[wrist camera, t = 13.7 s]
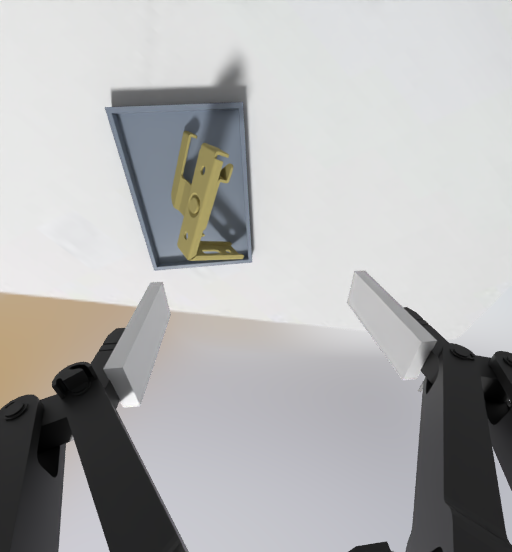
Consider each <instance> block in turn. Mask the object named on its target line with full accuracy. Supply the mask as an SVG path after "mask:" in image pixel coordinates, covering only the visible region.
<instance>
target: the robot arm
mask: <svg viewBox="0 0 512 552" xmlns="http://www.w3.org/2000/svg"><path fill="white" fill-rule="evenodd" d="M347 303H348V305H349V306H350V308H351V309H352V310H353V312H354V313H355V315H356V316H357V317H358V319H359V320H360V322H361V323H362V324H363V326H364V327H365V329H366V330H367V331H368V333H369V334H370V335H371V337H372V338H373V340H374V341H375V342H376V344H377V345H378V346H379V348H380V349H381V351H382V352H383V353H384V355H385V356H386V358H387V359H388V360H389V362H390V363H391V365H392V366H393V367H394V369H395V370H396V372H397V373H398V374H399V376H400V377H401V379H402V380H409V379H417V377H418V375H419V373H420V371H421V372H422V373H423V374H424V375H425V376H426V378H425V380H424V381H423V383H422V385H421V386H420V388H419V390H418V391H420V392H421V391H422V389H423V394H422V408H421V421H420V434H419V447H418V461H417V473H416V486H415V500H414V512H413V525H412V531H411V535H410V537H409V540H408V543H407V547H406V552H512V545H511V544H510V543H509V541H508V539H507V535H506V531H505V524H504V518H503V512H502V506H501V499H500V494H499V487H498V481H497V475H496V469H495V462H494V456H493V450H492V447H493V449H494V451H495V453H496V456H497V458H498V460H499V463H500V465H501V467H502V470H503V472H504V474H505V476H506V479H507V481H508V483H509V486H510V488H511V490H512V353H509V352H503V351H498V352H496V353H495V354H494V355H493V357H492V358H488V357H482V356H476V355H474V354H473V353H472V352H471V351H470V350H468V349H467V348H465V347H463V346H460V345H457V344H453V343H449V342H447V341H446V340H445V339H444V338H443V337H442V336H441V335H440V334H439V333H438V332H437V331H436V330H435V329H433V328H432V327H431V326H430V325H428V323H427V322H426V321H425V320H423V318H422V317H421V316H419V315H418V314H417V313H416V312H414V311H413V310H411V309H409V308H407V307H404V308H403V307H402V306H401V305H400V304H399V303H398V302H397V301H396V300H395V299H394V298H393V297H392V296H391V295H390V294H389V293H387V292H386V291H385V290H384V289H383V288H382V287H381V286H380V285H379V284H378V283H377V282H376V281H375V280H374V279H373V278H372V277H371V276H370V275H369V274H368V273H367V272H366V271H354V275H353V279H352V284H351V288H350V292H349V296H348V300H347ZM170 315H171V314H170V310H169V306H168V302H167V298H166V294H165V290H164V286H163V282H155V283H150V285H149V286H148V288H147V290H146V292H145V294H144V296H143V297H142V299H141V301H140V303H139V305H138V306H137V308H136V310H135V312H134V314H133V316H132V317H131V319H130V321H129V323H128V325H127V327H126V328H118V329H115V330H114V331H113V332H112V333H111V334H110V335H108V337H107V338H106V340H105V341H104V343H103V345H102V346H101V348H100V349H99V352H98V353H97V354H96V356H95V358H94V359H93V361H92V362H91V364H89V363H87V362H79V363H75V364H72V365H70V366H68V367H66V368H64V369H63V370H61V371H60V372H59V373H58V374H57V375H56V376H55V378H54V380H53V381H52V387H53V389H54V390H55V391H56V393H57V394H56V395H54V396H51V397H48V398H45V399H42V400H39V399H38V397H36V396H34V395H24V396H21V397H18V398H16V399H15V400H12V401H10V402H9V403H8V404H7V405H5V406H4V407H3V408H1V410H0V552H58V548H59V534H60V519H61V506H62V492H63V477H64V463H65V448H66V443H68V442H70V441H72V440H74V441H75V444H76V447H77V450H78V453H79V456H80V459H81V462H82V466H83V469H84V472H85V475H86V478H87V481H88V485H89V488H90V491H91V494H92V497H93V500H94V503H95V507H96V510H97V513H98V516H99V519H100V522H101V525H102V529H103V532H104V535H105V538H106V541H107V544H108V547H109V550H110V552H188V550H187V548H186V546H185V544H184V542H183V540H182V538H181V536H180V534H179V532H178V530H177V528H176V526H175V524H174V522H173V520H172V518H171V516H170V514H169V512H168V510H167V508H166V506H165V505H164V503H163V501H162V499H161V497H160V495H159V493H158V491H157V489H156V487H155V485H154V483H153V481H152V479H151V477H150V475H149V473H148V471H147V469H146V467H145V465H144V463H143V461H142V459H141V458H140V455H139V454H138V452H137V450H136V448H135V446H134V444H133V442H132V440H131V438H130V436H129V434H128V432H127V430H126V428H125V426H124V424H123V422H122V420H121V418H120V416H119V414H118V412H117V411H116V408H117V405H118V403H119V401H120V402H121V404H122V406H123V407H124V408H125V407H135V406H140V405H141V402H142V399H143V396H144V393H145V390H146V387H147V384H148V381H149V378H150V375H151V372H152V369H153V366H154V363H155V360H156V357H157V354H158V351H159V348H160V345H161V342H162V339H163V336H164V333H165V330H166V327H167V324H168V321H169V318H170ZM509 399H510V401H509ZM510 402H511V403H510ZM349 552H393V551H391V550H390V548H389V546H388V543H387V542H381V543H375V544H368V545H362V546H356V547H355V548H353V549H352V550H350V551H349Z"/></svg>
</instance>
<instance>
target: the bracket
mask: <svg viewBox="0 0 512 552" xmlns="http://www.w3.org/2000/svg"><path fill="white" fill-rule="evenodd" d="M191 137H193V138H196V139H197V135H195V134H193V133H191V132H189V131H184V132H183V137H182V142H181V146H180V151H179V156H178V161H177V166H176V171H175V176H174V181H173V186H172V191H171V199H172V204H173V207H174V208H175V209H177V210H178V211H179V212H180V213H181V214H182V215H183V216H184V218H183V222H182V226H181V230H180V234H179V239H178V243H177V246H178V248H179V249H180V251H181V252H182V253H183V255H184V256H185V257H186V259H187V260H190V261H199V260H227V259H243V258H244V255H243V254H239V253H238V252H237V251H236V250H235V249H234V248H233V247H232V246H231V245H232V243H231V242H223V241H200V240H201V237H203V236H205V235H204V234H203V230H205V229H206V227H207V224H208V220H209V217H210V214H211V210H212V207H213V204H214V200H215V197H216V194H217V191H218V187H219V184H220V182H222V183H228V182H229V180H230V177H231V174H232V171H233V164H230V163H229V164H227V165H226V166H225V167H224V168H223V169H221V168H222V165H223V161H220V160H217V155H221V156H224V157H227V158H228V157H229V154H227V153H226V152H224V151H222V150H221V149H219V148H217V147H215V146H212V145H209V144H207V143H203V144H202V145H201V149H200V151H199V155H198V159H197V163H196V167H195V172H194V176H193V180H192V184H191V183H190V182H189V181H188V180H186V179H185V178H184V177H183V172H184V167H185V163H186V158H187V154H188V149H189V144H190V140H191ZM204 167H205V173H204V175H203V168H204ZM187 233H188V238H187V237H186V234H187ZM204 251H216V252H219V253H215V254H206V253H204ZM226 251H228V252H230V253H227V252H226Z"/></svg>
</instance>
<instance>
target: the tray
mask: <svg viewBox="0 0 512 552" xmlns="http://www.w3.org/2000/svg"><path fill="white" fill-rule="evenodd" d="M105 110H106V113H107V116H108V120H109V123H110V126H111V130H112V133H113V136H114V139H115V143H116V146H117V149H118V153H119V156H120V159H121V162H122V166H123V169H124V172H125V176H126V179H127V182H128V186H129V189H130V192H131V195H132V199H133V202H134V205H135V209H136V212H137V215H138V219H139V222H140V225H141V228H142V232H143V235H144V238H145V242H146V245H147V248H148V252H149V255H150V258H151V261H152V265H153V268H154V270H166V269H178V268H190V267H202V266H214V265H226V264H238V263H250V262H252V252H251V235H250V217H249V200H248V182H247V165H246V147H245V130H244V112H243V102H232V103H206V104H180V105H154V106H128V107H105ZM184 131H189V132H191V133H193V134H195V135H197V139H196V138H193V137H191V140H190V144H189V149H188V154H187V158H186V163H185V167H184V172H183V177H184V178H185V179H186V180H188V181H189V182H190V183H191V184H192V180H193V176H194V172H195V167H196V163H197V159H198V155H199V151H200V149H201V145H202V144H203V143H207V144H209V145H212V146H215V147H217V148H219V149H221V150H222V151H224V152H226V153H227V154H229V157H228V158H227V157H224V156H221V155H217V160H220V161H223V165H222V168H221V169H223V168H224V167H225V166H226V165H227V164H229V163H230V164H233V171H232V174H231V177H230V180H229V182H228V183H222V182H220V184H219V187H218V191H217V194H216V197H215V200H214V204H213V207H212V210H211V214H210V217H209V220H208V224H207V227H206V229H205V230H203V234H204V235H205V236H203V237H201V240H200V241H223V242H231V243H232V245H231V246H232V247H233V248H234V249H235V250H236V251H237V252H238V253H239V254H243V255H244V258H243V259H227V260H199V261H190V260H187V259H186V257H185V256H184V255H183V253H182V252H181V251H180V249H179V248H178V246H177V243H178V239H179V234H180V230H181V226H182V222H183V218H184V216H183V215H182V214H181V213H180V212H179V211H178V210H177V209H175V208H174V207H173V204H172V199H171V191H172V186H173V181H174V176H175V171H176V166H177V161H178V156H179V151H180V146H181V142H182V137H183V132H184ZM204 173H205V167H204V168H203V175H204ZM186 237H187V238H188V233H187V234H186ZM226 252H227V253H230V252H228V251H226ZM204 253H206V254H215V253H219V252H216V251H204Z"/></svg>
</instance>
